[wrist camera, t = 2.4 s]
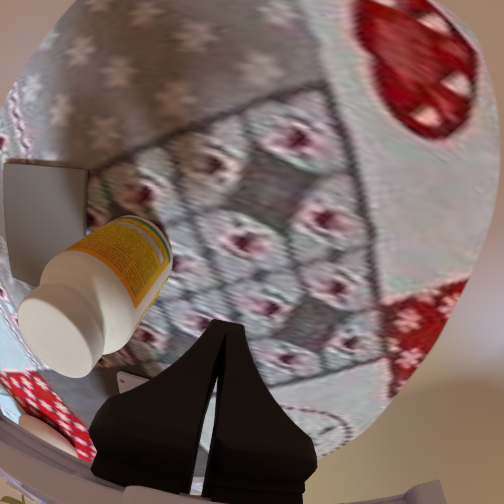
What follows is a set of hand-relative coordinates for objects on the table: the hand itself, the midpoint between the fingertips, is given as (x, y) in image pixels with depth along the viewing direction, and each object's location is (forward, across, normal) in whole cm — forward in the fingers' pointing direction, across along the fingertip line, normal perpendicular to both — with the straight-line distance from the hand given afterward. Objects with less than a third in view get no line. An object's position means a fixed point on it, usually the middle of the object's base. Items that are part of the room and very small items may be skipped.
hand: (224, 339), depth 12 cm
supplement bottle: (+7, +7, 0) cm, 9 cm away
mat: (+6, +15, 0) cm, 16 cm away
